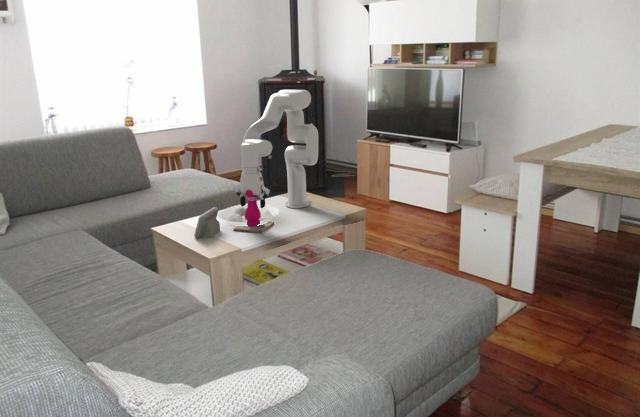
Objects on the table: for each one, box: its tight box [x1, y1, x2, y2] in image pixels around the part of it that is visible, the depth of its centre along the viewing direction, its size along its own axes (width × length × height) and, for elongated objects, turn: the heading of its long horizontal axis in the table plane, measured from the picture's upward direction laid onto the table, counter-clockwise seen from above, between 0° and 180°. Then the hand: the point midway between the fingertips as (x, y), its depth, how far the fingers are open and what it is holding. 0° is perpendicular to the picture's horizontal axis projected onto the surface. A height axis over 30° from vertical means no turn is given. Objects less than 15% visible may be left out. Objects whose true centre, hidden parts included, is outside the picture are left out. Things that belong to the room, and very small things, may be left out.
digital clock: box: [193, 206, 221, 239], centre depth 239 cm, size 16×9×11 cm, turn 153°
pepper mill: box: [244, 190, 262, 227], centre depth 245 cm, size 7×7×20 cm
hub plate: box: [233, 221, 275, 234], centre depth 247 cm, size 14×14×1 cm
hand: (253, 206), depth 245 cm, fingers open, 9 cm apart
